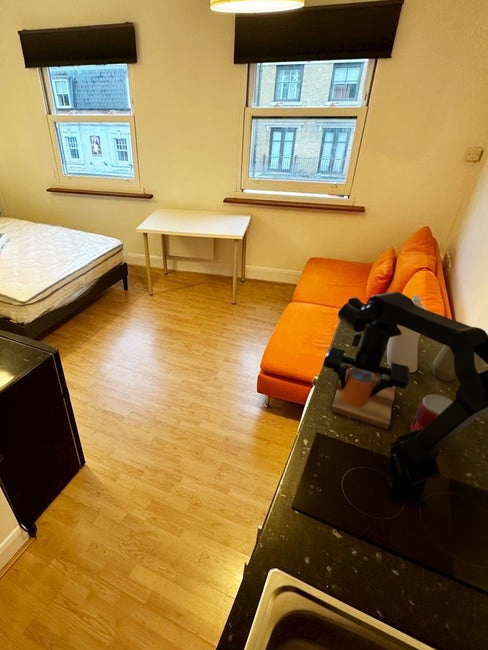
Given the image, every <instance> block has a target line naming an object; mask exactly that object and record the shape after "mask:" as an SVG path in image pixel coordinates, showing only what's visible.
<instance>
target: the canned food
mask: <svg viewBox="0 0 488 650" xmlns="http://www.w3.org/2000/svg"><path fill="white" fill-rule="evenodd" d="M452 402H454V401H453V400H451V399H450V398H448V397H446V396H443V395H440V394H427V395H425V396H424V398H423V399H422V401H421V402H420V404H419V407H418V409H417V411H416V413H415V415H414V418H413V420H412V422H411V424H410V432H412V431H415V430H418V429H422V430H423V429H424V428H425V427H426V426H427V425H428V424H429V423H430V422H432V421H433V420H434V419H435V418H436V417H437V416H438V415H439V414H440V413H441V412H443V411H444V410H445V409H446V408H447V407H448V406H449V405H450V404H451V403H452Z"/></svg>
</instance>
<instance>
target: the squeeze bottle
mask: <svg viewBox="0 0 488 650" xmlns="http://www.w3.org/2000/svg"><path fill="white" fill-rule="evenodd" d="M432 373H433V375H434V376H435V377H436V378H438V379H439V380H442V381H445V382H451V381H454V380H455V379H456V378H457V376H456V375H455V370H454V355H453V353H452V351H451V349H450V347H448V346H446V345H444V344H443V346H442V348H441V350H439V352H438V353H437V355H436V357H435V359H434V360H433V362H432Z"/></svg>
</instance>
